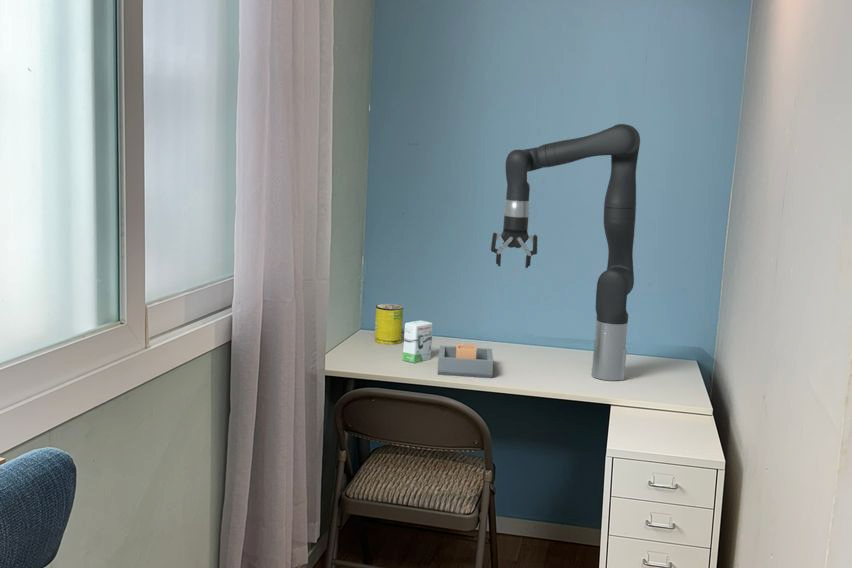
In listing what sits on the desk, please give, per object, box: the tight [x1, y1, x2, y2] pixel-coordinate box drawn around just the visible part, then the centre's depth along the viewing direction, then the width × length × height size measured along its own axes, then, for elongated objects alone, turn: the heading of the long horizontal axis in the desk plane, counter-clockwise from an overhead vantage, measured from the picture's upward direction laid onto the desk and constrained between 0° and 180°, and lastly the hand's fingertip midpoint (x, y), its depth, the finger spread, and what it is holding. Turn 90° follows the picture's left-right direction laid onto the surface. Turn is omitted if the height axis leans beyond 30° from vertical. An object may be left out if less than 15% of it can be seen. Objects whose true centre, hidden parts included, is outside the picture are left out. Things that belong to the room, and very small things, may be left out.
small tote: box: [456, 343, 478, 359], centre depth 270 cm, size 6×6×6 cm
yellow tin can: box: [374, 303, 404, 346], centre depth 300 cm, size 9×9×12 cm
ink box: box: [402, 319, 434, 364], centre depth 278 cm, size 9×5×12 cm, turn 142°
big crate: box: [437, 345, 494, 379], centre depth 270 cm, size 16×16×5 cm
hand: (512, 266), depth 279 cm, fingers open, 8 cm apart
